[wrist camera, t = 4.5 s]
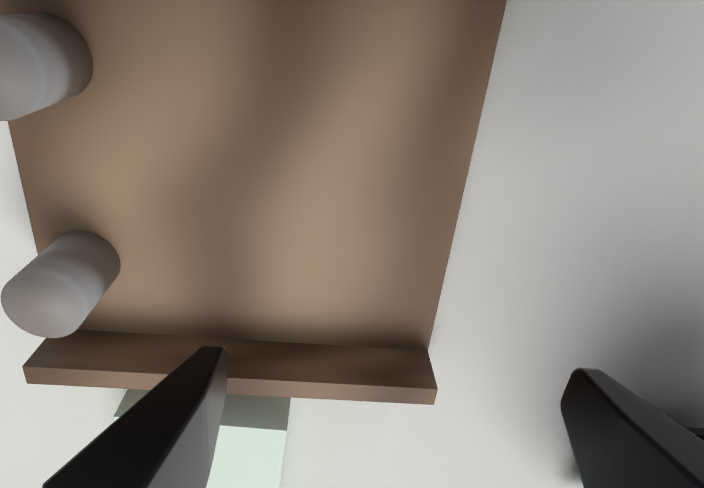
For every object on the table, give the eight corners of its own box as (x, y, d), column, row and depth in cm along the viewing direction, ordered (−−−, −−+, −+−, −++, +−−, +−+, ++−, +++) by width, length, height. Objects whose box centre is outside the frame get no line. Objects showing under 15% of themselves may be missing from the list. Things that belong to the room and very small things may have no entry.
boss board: (512, -45, 14) (561, -55, 11) (422, 359, 21) (437, 421, 18) (-36, -114, 13) (-152, -148, 10) (63, 337, 20) (14, 400, 17)
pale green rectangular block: (293, 372, 21) (286, 430, 19) (274, 523, 26) (267, 587, 24) (143, 359, 21) (113, 416, 18) (153, 515, 26) (130, 580, 23)
